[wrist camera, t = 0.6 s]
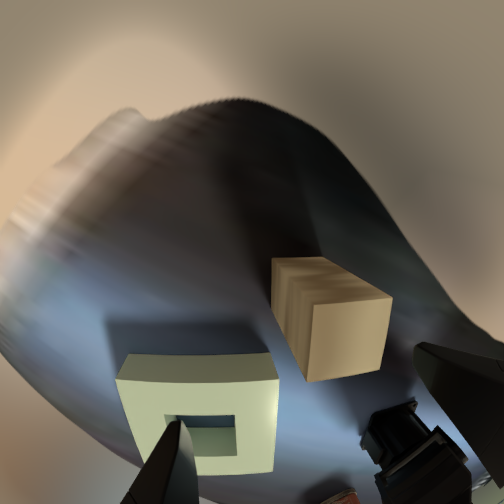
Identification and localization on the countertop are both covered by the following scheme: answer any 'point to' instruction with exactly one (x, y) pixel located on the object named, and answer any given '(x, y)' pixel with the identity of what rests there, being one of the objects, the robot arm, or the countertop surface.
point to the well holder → (205, 406)
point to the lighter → (343, 498)
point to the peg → (329, 317)
